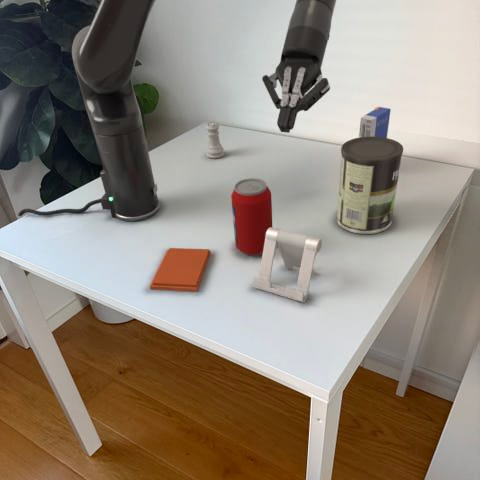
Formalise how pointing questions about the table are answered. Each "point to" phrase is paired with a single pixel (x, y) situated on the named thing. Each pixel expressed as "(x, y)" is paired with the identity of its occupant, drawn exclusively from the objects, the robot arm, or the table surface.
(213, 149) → the rook chess piece
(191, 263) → the folded cloth
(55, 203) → the table surface
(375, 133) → the walkman
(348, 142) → the coffee can
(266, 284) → the tablet stand
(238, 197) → the beverage can
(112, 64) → the robot arm
